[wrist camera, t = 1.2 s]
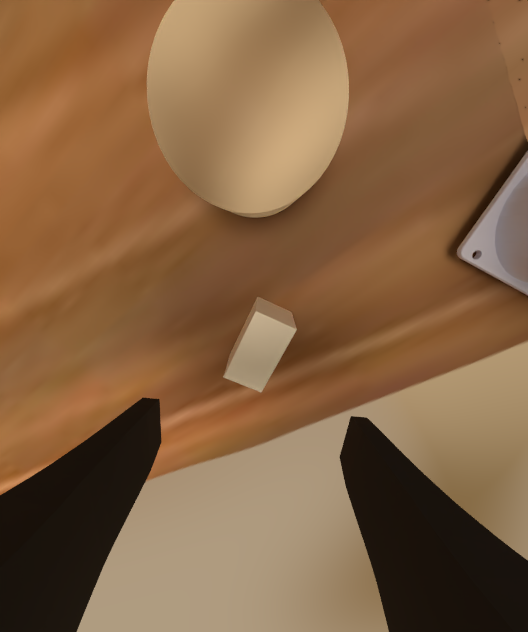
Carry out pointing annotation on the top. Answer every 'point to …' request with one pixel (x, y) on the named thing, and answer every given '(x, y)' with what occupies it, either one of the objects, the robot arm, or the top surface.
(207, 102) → the bobbin
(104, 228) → the top surface
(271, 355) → the rectangular block
